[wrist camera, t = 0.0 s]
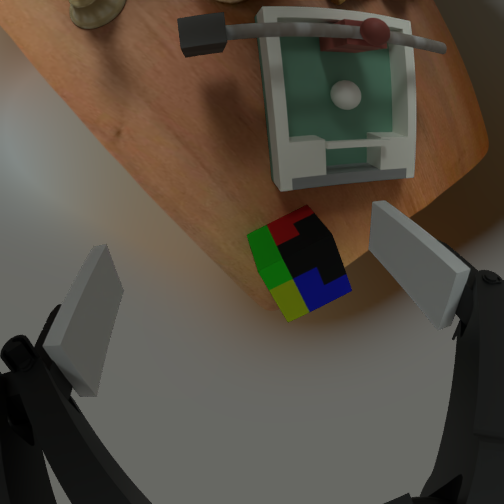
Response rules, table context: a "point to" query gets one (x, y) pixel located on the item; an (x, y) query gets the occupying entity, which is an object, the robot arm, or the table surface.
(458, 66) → the table surface
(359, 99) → the ball
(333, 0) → the kendama
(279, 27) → the striker
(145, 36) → the table surface
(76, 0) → the hand bell
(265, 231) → the puzzle toy
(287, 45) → the pitch
